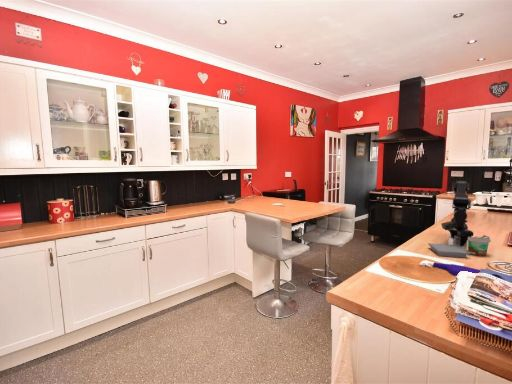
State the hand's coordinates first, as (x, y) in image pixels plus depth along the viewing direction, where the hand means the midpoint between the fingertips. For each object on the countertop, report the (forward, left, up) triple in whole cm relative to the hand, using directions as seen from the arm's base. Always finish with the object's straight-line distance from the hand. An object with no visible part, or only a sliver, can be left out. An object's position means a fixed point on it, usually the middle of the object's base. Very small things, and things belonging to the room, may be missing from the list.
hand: (457, 243), depth 150 cm
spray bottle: (+40, -20, -3) cm, 44 cm away
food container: (+11, +6, -3) cm, 13 cm away
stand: (+12, -10, -2) cm, 16 cm away
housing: (0, 0, -2) cm, 3 cm away
